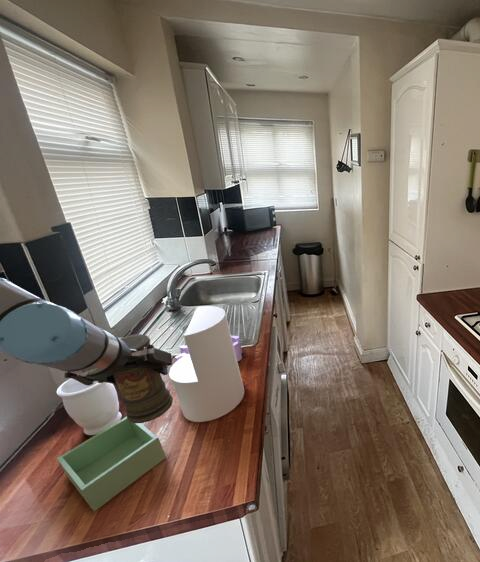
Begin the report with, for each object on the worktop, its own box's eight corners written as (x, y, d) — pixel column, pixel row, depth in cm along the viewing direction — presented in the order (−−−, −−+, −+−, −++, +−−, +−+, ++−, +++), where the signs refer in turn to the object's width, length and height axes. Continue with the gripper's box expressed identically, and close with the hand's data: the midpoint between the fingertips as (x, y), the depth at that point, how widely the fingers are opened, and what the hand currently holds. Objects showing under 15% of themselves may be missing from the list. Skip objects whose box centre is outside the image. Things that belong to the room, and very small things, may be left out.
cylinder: (245, 375, 105) (228, 302, 94) (242, 412, 89) (221, 329, 79) (189, 388, 100) (164, 311, 89) (175, 429, 84) (143, 343, 74)
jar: (135, 413, 90) (117, 372, 85) (97, 442, 81) (75, 398, 75) (108, 406, 93) (90, 366, 87) (69, 434, 84) (45, 391, 78)
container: (134, 401, 74) (107, 338, 68) (176, 391, 77) (155, 329, 70) (121, 429, 67) (89, 361, 60) (168, 417, 69) (143, 350, 63)
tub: (68, 478, 72) (56, 458, 69) (138, 433, 84) (129, 414, 81) (94, 511, 65) (81, 490, 62) (166, 457, 76) (158, 437, 74)
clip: (243, 346, 121) (239, 331, 118) (241, 364, 110) (237, 348, 108) (186, 358, 115) (181, 342, 112) (178, 378, 104) (173, 362, 102)
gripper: (9, 394, 47) (89, 405, 67) (166, 358, 55) (195, 377, 75) (13, 347, 50) (89, 371, 69) (162, 319, 57) (192, 347, 77)
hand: (144, 374), depth 72 cm, fingers closed on container, 8 cm apart
